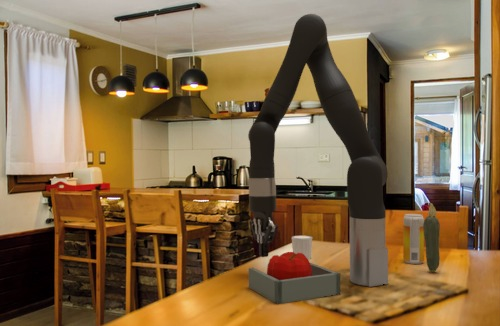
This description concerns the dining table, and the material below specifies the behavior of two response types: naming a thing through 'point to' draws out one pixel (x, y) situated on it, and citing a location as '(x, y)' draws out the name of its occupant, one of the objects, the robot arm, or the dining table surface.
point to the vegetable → (432, 239)
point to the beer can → (413, 238)
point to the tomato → (289, 266)
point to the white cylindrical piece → (302, 245)
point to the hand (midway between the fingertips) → (263, 256)
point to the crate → (295, 285)
